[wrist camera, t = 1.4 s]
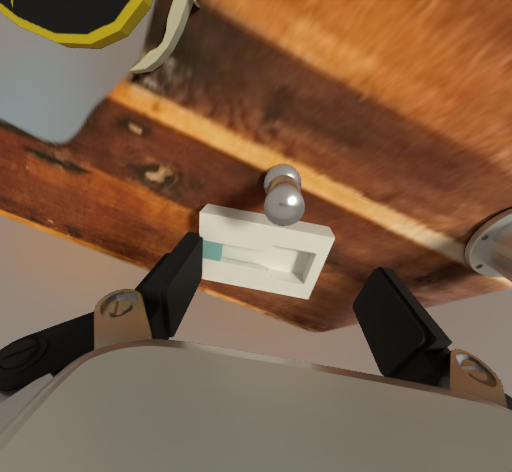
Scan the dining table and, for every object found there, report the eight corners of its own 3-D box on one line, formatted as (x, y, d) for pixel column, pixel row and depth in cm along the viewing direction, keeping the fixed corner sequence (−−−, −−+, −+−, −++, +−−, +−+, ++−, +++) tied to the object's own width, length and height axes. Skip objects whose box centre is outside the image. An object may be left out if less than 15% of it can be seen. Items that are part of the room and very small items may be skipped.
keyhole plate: (329, 226, 31) (335, 238, 27) (305, 285, 37) (308, 299, 34) (207, 203, 31) (199, 211, 28) (205, 265, 37) (198, 278, 34)
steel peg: (304, 167, 27) (318, 187, 18) (294, 202, 29) (302, 235, 20) (268, 160, 27) (263, 177, 18) (261, 196, 29) (254, 226, 20)
